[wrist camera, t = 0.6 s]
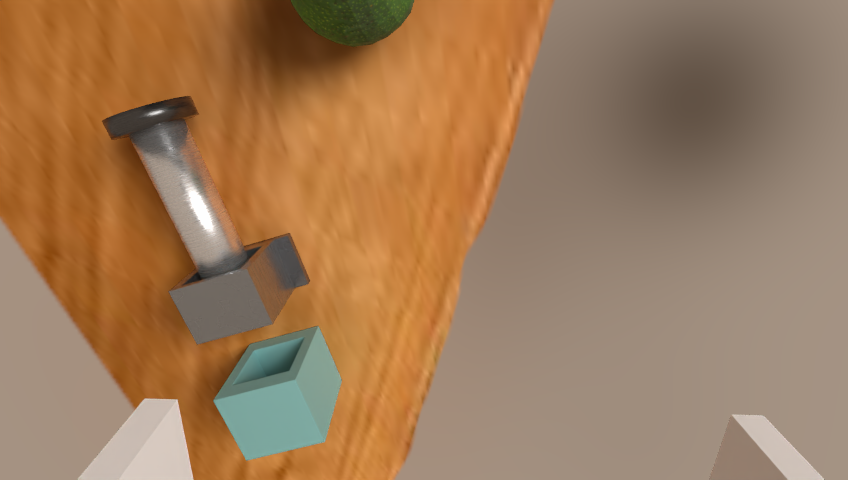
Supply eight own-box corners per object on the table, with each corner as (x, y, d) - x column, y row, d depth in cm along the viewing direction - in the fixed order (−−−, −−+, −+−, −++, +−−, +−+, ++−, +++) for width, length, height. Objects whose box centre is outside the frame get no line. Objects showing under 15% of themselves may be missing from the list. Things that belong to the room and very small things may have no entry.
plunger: (135, 117, 34) (81, 125, 29) (205, 94, 33) (163, 98, 28) (231, 310, 39) (201, 347, 34) (293, 293, 39) (271, 328, 33)
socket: (249, 344, 41) (213, 400, 34) (318, 325, 41) (295, 379, 34) (276, 396, 43) (246, 460, 36) (341, 380, 43) (324, 441, 36)
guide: (196, 260, 39) (153, 295, 32) (289, 233, 38) (262, 264, 32) (220, 305, 40) (182, 348, 34) (309, 280, 39) (288, 319, 33)
